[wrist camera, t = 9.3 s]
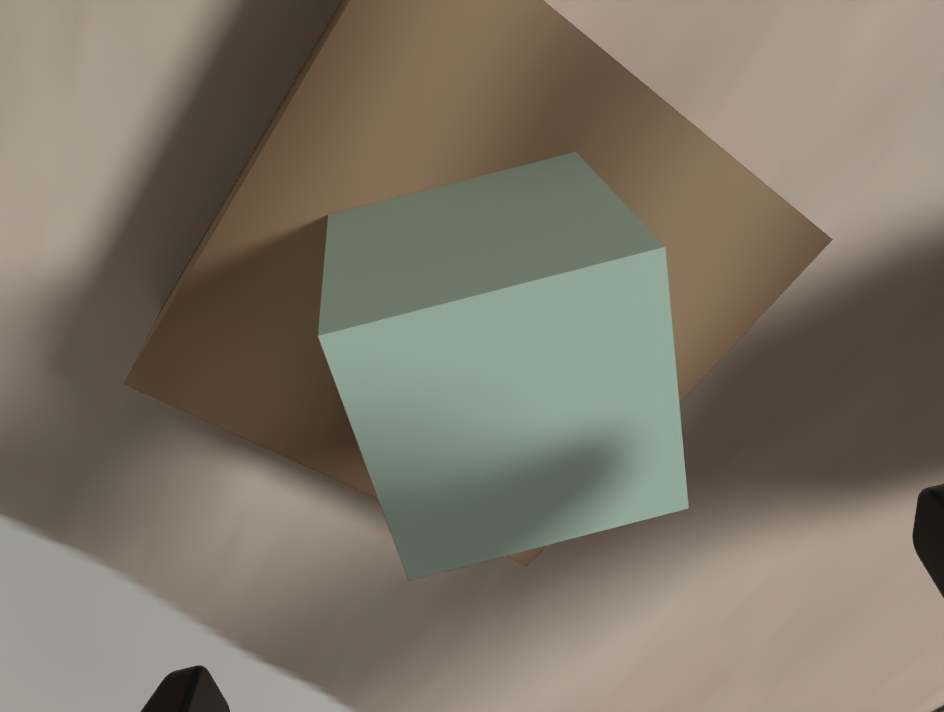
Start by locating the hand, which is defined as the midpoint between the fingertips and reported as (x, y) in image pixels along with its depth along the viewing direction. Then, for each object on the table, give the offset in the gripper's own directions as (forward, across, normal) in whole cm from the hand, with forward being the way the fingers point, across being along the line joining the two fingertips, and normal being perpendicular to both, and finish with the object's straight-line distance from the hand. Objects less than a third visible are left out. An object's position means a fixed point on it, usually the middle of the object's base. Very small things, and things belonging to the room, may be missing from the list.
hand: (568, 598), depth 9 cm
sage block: (+8, 0, 0) cm, 8 cm away
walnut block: (+12, 0, 0) cm, 12 cm away
